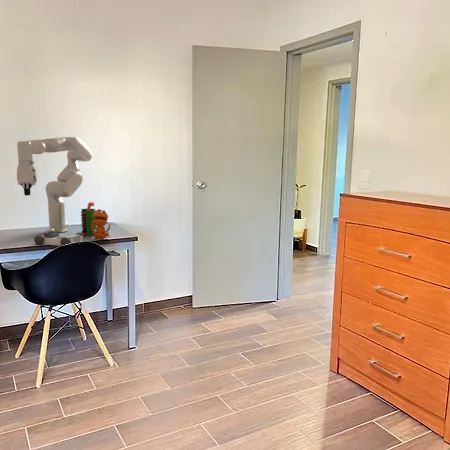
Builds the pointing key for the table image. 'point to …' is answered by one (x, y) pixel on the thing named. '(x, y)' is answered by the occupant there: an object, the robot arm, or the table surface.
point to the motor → (87, 220)
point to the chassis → (59, 239)
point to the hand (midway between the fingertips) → (27, 195)
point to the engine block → (51, 233)
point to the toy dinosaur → (100, 224)
